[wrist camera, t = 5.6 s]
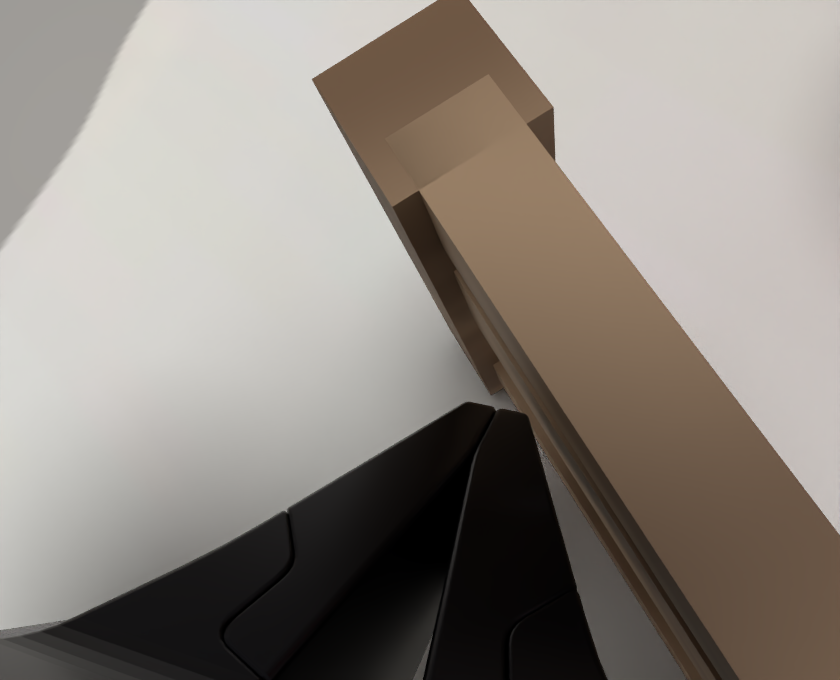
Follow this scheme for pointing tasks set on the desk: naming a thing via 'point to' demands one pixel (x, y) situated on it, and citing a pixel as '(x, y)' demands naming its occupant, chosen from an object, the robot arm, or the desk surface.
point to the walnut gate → (589, 353)
